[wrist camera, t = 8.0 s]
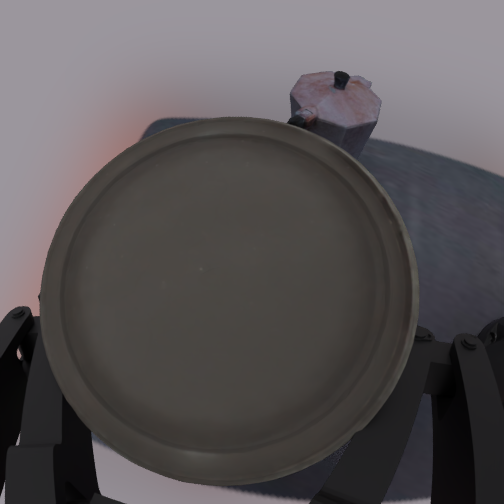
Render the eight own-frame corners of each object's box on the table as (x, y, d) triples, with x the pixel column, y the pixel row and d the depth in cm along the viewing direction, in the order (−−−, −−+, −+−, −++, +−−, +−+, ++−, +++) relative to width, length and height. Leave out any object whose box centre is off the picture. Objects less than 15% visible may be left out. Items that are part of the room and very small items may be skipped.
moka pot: (370, 181, 43) (409, 73, 24) (309, 255, 39) (333, 149, 21) (318, 148, 46) (332, 37, 27) (252, 213, 42) (236, 96, 24)
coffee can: (239, 446, 17) (178, 551, 4) (148, 329, 21) (6, 247, 8) (358, 347, 19) (485, 280, 6) (260, 242, 23) (243, 77, 10)
